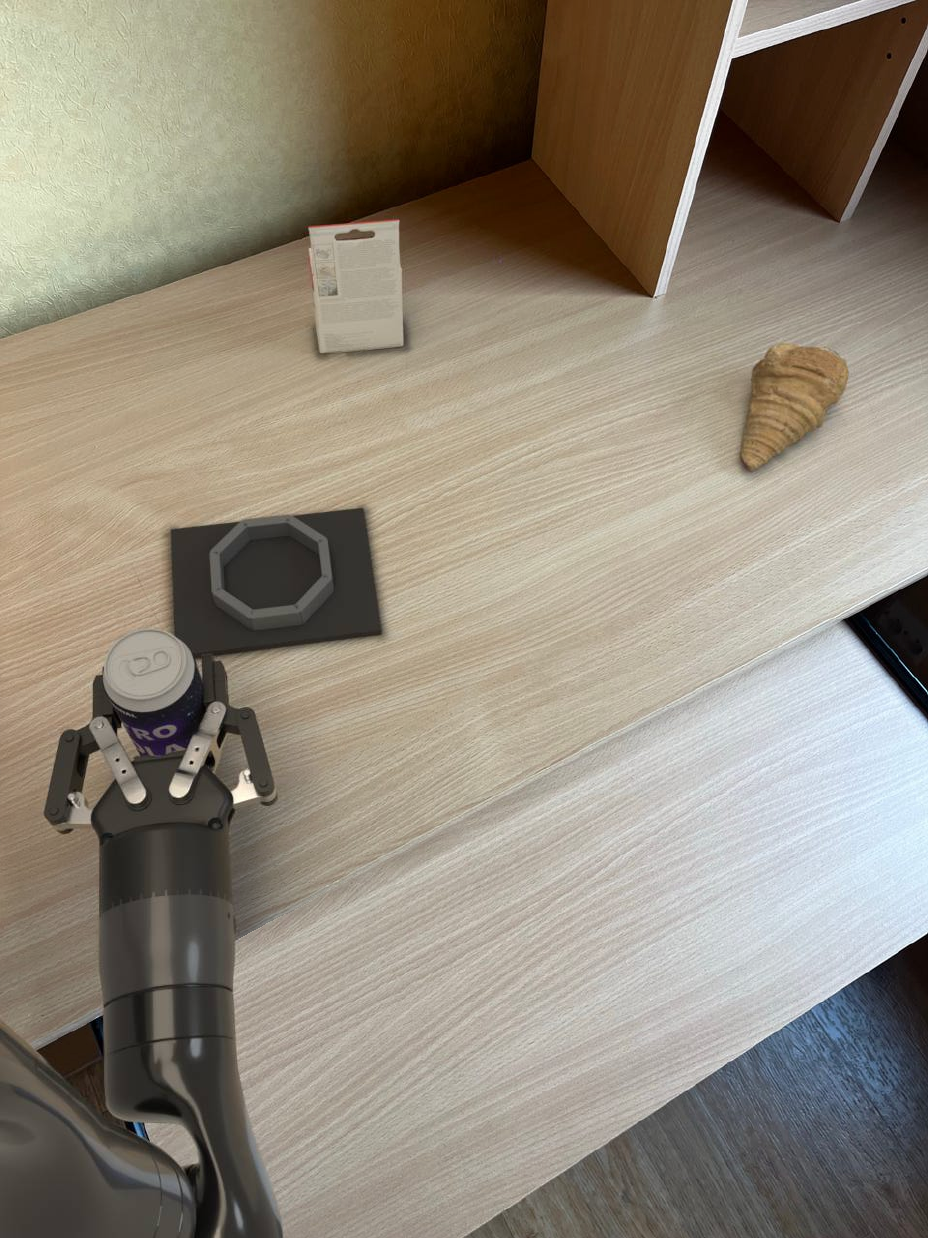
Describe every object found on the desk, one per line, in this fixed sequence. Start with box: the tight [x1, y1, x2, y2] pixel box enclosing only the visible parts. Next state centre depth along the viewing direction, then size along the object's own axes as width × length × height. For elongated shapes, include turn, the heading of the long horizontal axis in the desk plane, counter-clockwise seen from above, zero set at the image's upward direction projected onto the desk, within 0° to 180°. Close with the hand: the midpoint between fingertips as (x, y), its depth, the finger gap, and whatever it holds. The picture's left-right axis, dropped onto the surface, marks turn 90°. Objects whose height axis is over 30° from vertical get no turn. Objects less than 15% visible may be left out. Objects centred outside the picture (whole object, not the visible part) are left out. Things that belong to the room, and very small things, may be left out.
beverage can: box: [102, 627, 206, 756], centre depth 69 cm, size 6×6×12 cm
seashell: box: [739, 342, 850, 472], centre depth 94 cm, size 14×8×8 cm
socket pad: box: [170, 507, 382, 659], centre depth 85 cm, size 16×12×3 cm
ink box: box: [307, 219, 405, 355], centre depth 94 cm, size 4×8×15 cm, turn 99°
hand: (160, 665), depth 70 cm, fingers closed on beverage can, 5 cm apart
